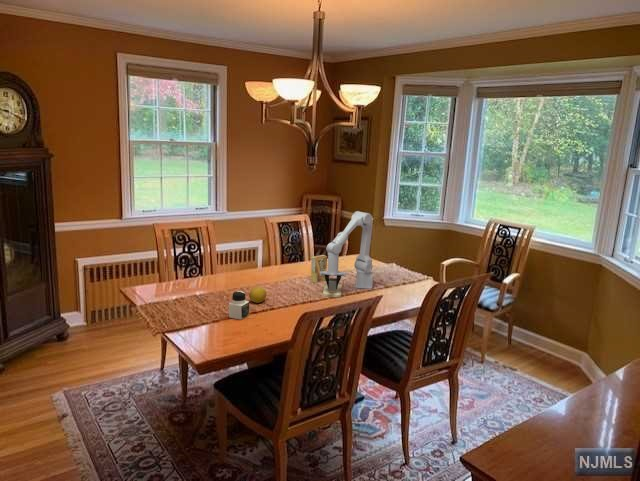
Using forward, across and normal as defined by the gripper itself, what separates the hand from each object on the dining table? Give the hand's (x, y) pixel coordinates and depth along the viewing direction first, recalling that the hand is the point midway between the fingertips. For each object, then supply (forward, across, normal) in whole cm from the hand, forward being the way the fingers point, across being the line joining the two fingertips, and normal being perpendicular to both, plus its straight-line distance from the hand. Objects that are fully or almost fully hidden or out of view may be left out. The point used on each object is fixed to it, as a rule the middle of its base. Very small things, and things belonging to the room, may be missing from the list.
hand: (332, 288), depth 268 cm
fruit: (+3, -38, -19) cm, 43 cm away
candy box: (+3, -9, +22) cm, 24 cm away
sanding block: (+1, 0, 0) cm, 1 cm away
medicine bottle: (+3, -43, -40) cm, 59 cm away
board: (+3, 0, +4) cm, 5 cm away
